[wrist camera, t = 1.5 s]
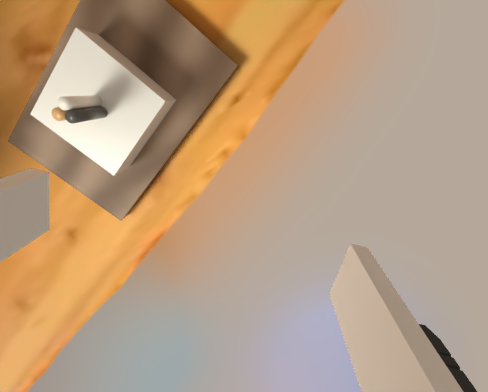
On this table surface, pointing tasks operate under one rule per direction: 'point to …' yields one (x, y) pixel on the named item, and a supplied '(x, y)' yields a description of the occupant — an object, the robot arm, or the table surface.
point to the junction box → (101, 102)
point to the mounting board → (153, 65)
